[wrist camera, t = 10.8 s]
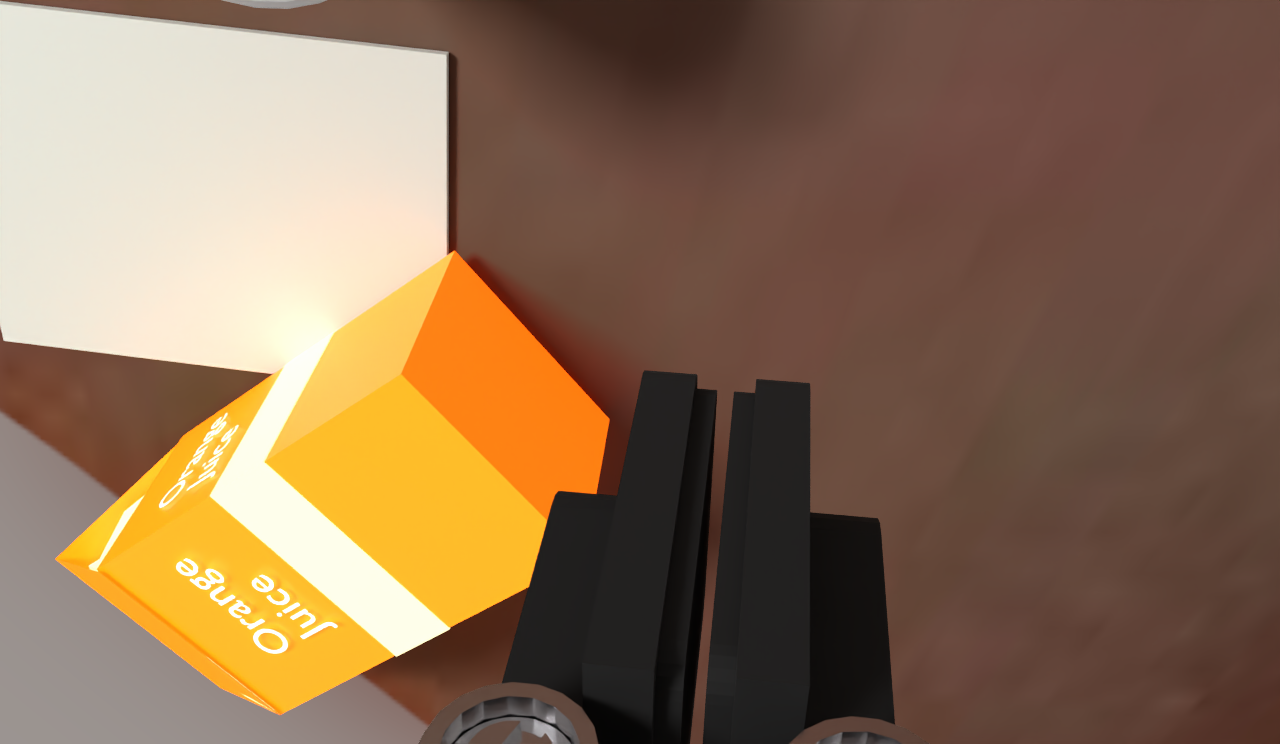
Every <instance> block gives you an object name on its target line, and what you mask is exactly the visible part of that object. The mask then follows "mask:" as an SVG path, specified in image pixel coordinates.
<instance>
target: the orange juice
mask: <svg viewBox="0 0 1280 744" xmlns="http://www.w3.org/2000/svg"><path fill="white" fill-rule="evenodd" d="M609 420H610V419H609V418H608V417H607V416H606V415H605V414H604V413H603V412H602V411H601V409H600V408H599V407H598V406H597V405H596V404H595V403H594V402H593V401H592V400H591V399H590V397H589V396H588V395H587V394H586V393H585V392H584V391H583V390H582V389H581V388H580V387H579V385H578V384H577V383H576V382H575V381H574V380H573V379H572V378H571V377H570V376H569V375H568V373H567V372H566V371H565V370H564V369H563V368H562V367H561V366H560V365H559V364H558V363H557V361H556V360H555V359H554V358H553V357H552V356H551V355H550V354H549V353H548V352H547V351H546V350H545V348H544V347H543V346H542V345H541V344H540V343H539V342H538V341H537V340H536V339H535V338H534V336H533V335H532V334H531V333H530V332H529V331H528V330H527V329H526V328H525V327H524V326H523V324H522V323H521V322H520V321H519V320H518V319H517V318H516V317H515V316H514V315H513V314H512V312H511V311H510V310H509V309H508V308H507V307H506V306H505V305H504V304H503V303H502V302H501V300H500V299H499V298H498V297H497V296H496V295H495V294H494V293H493V292H492V291H491V290H490V288H489V287H488V286H487V285H486V284H485V283H484V282H483V281H482V280H481V279H480V278H479V277H478V275H477V274H476V273H475V272H474V271H473V270H472V269H471V268H470V267H469V266H468V265H467V263H466V262H465V261H464V260H463V259H462V258H461V257H460V256H459V255H458V254H457V253H456V251H453V252H452V253H450V254H449V255H447V256H446V257H444V258H443V259H441V260H440V261H439V262H437V263H436V264H434V265H433V266H431V267H430V268H428V269H427V270H425V271H424V272H422V273H421V274H420V275H418V276H417V277H415V278H414V279H412V280H411V281H409V282H408V283H406V284H405V285H403V286H402V287H400V288H399V289H398V290H396V291H395V292H393V293H392V294H390V295H389V296H387V297H386V298H384V299H383V300H381V301H380V302H378V303H377V304H376V305H374V306H373V307H371V308H370V309H368V310H367V311H365V312H364V313H362V314H361V315H359V316H358V317H356V318H355V319H354V320H352V321H351V322H349V323H348V324H346V325H345V326H343V327H342V328H340V329H339V330H337V331H336V332H332V333H331V334H329V335H328V336H326V337H325V338H323V339H322V340H320V341H319V342H317V343H316V344H314V345H313V346H311V347H310V348H309V349H307V350H306V351H304V352H303V353H301V354H300V355H298V356H297V357H295V358H294V359H292V360H291V361H290V362H288V363H287V364H285V366H284V367H283V368H282V369H280V370H279V371H277V372H276V373H274V374H273V375H271V376H270V377H269V378H267V379H266V380H264V381H263V382H261V383H260V384H258V385H257V386H255V387H254V388H252V389H251V390H249V391H248V392H247V393H245V394H244V395H242V396H241V397H239V398H238V399H236V400H235V401H233V402H232V403H230V404H229V405H227V406H226V407H225V408H223V409H222V410H220V411H219V412H217V413H216V414H214V415H213V416H211V417H210V418H208V419H207V420H205V421H204V422H203V423H201V424H200V425H198V426H197V427H195V428H194V429H192V430H191V431H189V432H188V433H186V434H185V435H184V436H182V438H181V439H180V441H179V442H178V444H177V445H176V446H175V447H174V448H173V449H172V450H171V451H170V452H169V453H167V454H166V455H165V456H164V457H163V458H162V459H161V460H160V461H159V462H158V463H157V464H156V465H155V466H154V467H153V468H152V469H150V470H149V471H148V472H147V473H146V474H145V475H144V476H143V477H142V478H141V479H140V480H139V481H138V482H137V483H136V484H135V485H133V486H132V487H131V488H130V489H129V490H128V491H127V492H126V493H125V494H124V495H123V496H122V497H121V498H120V499H119V500H118V501H116V502H115V504H113V505H112V506H111V507H110V508H109V509H108V510H107V511H106V512H105V513H104V514H103V515H102V516H101V517H99V518H98V519H97V520H96V521H95V522H94V523H93V524H92V525H91V526H90V527H89V528H88V529H87V530H86V531H85V532H84V533H83V534H81V536H79V537H78V538H77V539H76V540H75V541H74V542H73V543H72V544H71V545H70V546H69V547H68V548H67V549H65V550H64V551H63V552H62V553H61V554H60V555H59V556H58V557H57V558H56V560H57V561H58V562H59V563H61V564H62V565H63V566H65V567H66V568H67V569H69V570H70V571H71V572H72V573H74V574H75V575H76V576H77V577H79V578H80V579H81V580H83V581H84V582H85V583H86V584H88V585H89V586H90V587H92V588H93V589H94V590H95V591H97V592H98V593H99V594H101V595H102V596H103V597H104V598H106V599H107V600H108V601H110V602H111V603H112V604H113V605H115V606H116V607H117V608H118V609H120V610H121V611H122V612H124V613H125V614H127V615H128V616H129V617H130V618H131V619H133V620H134V621H135V622H136V623H138V624H139V625H141V626H142V627H143V628H144V629H146V630H147V631H148V632H149V633H151V634H152V635H153V636H154V637H156V638H157V639H158V640H160V641H161V642H162V643H164V644H165V645H166V646H167V647H169V648H170V649H171V650H172V651H174V652H175V653H176V654H178V655H179V656H180V657H182V658H183V659H184V660H185V661H187V662H188V663H189V664H190V665H192V666H193V667H194V668H196V669H197V670H198V671H199V672H201V673H202V674H203V675H205V676H206V677H207V678H208V679H210V680H211V681H212V682H214V683H215V684H216V685H217V686H219V687H220V688H221V689H224V690H226V691H229V692H231V693H233V694H235V695H237V696H239V697H242V698H244V699H246V700H248V701H250V702H253V703H255V704H257V705H259V706H261V707H263V708H266V709H268V710H270V711H272V712H275V713H276V714H280V715H281V714H283V713H284V712H286V711H288V710H290V709H292V708H294V707H296V706H298V705H300V704H302V703H304V702H306V701H308V700H310V699H312V698H314V697H316V696H317V695H319V694H321V693H323V692H325V691H327V690H329V689H331V688H333V687H335V686H337V685H339V684H340V683H343V682H345V681H347V680H349V679H350V678H352V677H354V676H356V675H358V674H360V673H362V672H364V671H366V670H368V669H370V668H372V667H374V666H376V665H378V664H380V663H382V662H384V661H385V660H387V659H389V658H391V657H393V656H396V657H397V656H399V655H401V654H403V653H405V652H406V651H408V650H410V649H412V648H414V647H416V646H418V645H420V644H422V643H424V642H426V641H428V640H430V639H432V638H434V637H436V636H438V635H440V634H442V633H443V632H445V631H447V630H449V629H450V627H452V626H453V625H455V624H457V623H459V622H461V621H463V620H465V619H467V618H469V617H471V616H473V615H475V614H477V613H479V612H481V611H483V610H485V609H487V608H488V607H490V606H492V605H494V604H496V603H498V602H500V601H502V600H504V599H506V598H508V597H510V596H512V595H514V594H516V593H518V592H520V591H522V590H523V589H525V588H527V587H529V584H530V580H531V577H532V573H533V570H534V566H535V562H536V559H537V555H538V552H539V548H540V544H541V541H542V537H543V534H544V530H545V526H546V523H547V519H548V516H549V512H550V508H551V505H552V502H553V499H554V496H555V494H556V493H557V492H558V491H568V492H580V493H591V494H596V492H597V487H598V481H599V476H600V470H601V465H602V459H603V453H604V448H605V442H606V437H607V431H608V425H609ZM277 712H278V713H277Z"/></svg>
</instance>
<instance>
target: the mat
mask: <svg viewBox="0 0 1280 744" xmlns="http://www.w3.org/2000/svg"><path fill="white" fill-rule="evenodd" d="M447 255H449V52H445V51H436V50H427V49H418V48H410V47H401V46H392V45H383V44H374V43H366V42H357V41H348V40H339V39H330V38H322V37H313V36H304V35H295V34H286V33H277V32H269V31H260V30H251V29H242V28H233V27H225V26H216V25H207V24H198V23H189V22H181V21H172V20H163V19H154V18H145V17H137V16H128V15H119V14H110V13H101V12H93V11H84V10H75V9H66V8H57V7H49V6H40V5H31V4H22V3H13V2H5V1H0V326H1V331H2V335H3V339H4V341H10V342H19V343H27V344H35V345H43V346H51V347H59V348H67V349H75V350H83V351H91V352H99V353H108V354H116V355H124V356H132V357H140V358H148V359H156V360H164V361H172V362H180V363H189V364H197V365H205V366H213V367H221V368H229V369H237V370H245V371H253V372H261V373H269V374H274V373H276V372H277V371H279V370H280V369H282V368H283V367H284V366H285V364H287V363H288V362H290V361H291V360H292V359H294V358H295V357H297V356H298V355H300V354H301V353H303V352H304V351H306V350H307V349H309V348H310V347H311V346H313V345H314V344H316V343H317V342H319V341H320V340H322V339H323V338H325V337H326V336H328V335H329V334H331V333H332V332H336V331H337V330H339V329H340V328H342V327H343V326H345V325H346V324H348V323H349V322H351V321H352V320H354V319H355V318H356V317H358V316H359V315H361V314H362V313H364V312H365V311H367V310H368V309H370V308H371V307H373V306H374V305H376V304H377V303H378V302H380V301H381V300H383V299H384V298H386V297H387V296H389V295H390V294H392V293H393V292H395V291H396V290H398V289H399V288H400V287H402V286H403V285H405V284H406V283H408V282H409V281H411V280H412V279H414V278H415V277H417V276H418V275H420V274H421V273H422V272H424V271H425V270H427V269H428V268H430V267H431V266H433V265H434V264H436V263H437V262H439V261H440V260H441V259H443V258H444V257H446V256H447Z"/></svg>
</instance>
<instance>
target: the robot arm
mask: <svg viewBox="0 0 1280 744" xmlns="http://www.w3.org/2000/svg"><path fill="white" fill-rule="evenodd" d="M716 404H717V390H707V389H697V374H684V373H671V372H658V371H644V372H643V376H642V380H641V385H640V390H639V395H638V399H637V404H636V409H635V414H634V418H633V423H632V428H631V433H630V437H629V442H628V447H627V452H626V456H625V461H624V466H623V471H622V476H621V480H620V485H619V490H618V495H617V496H614V495H603V494H591V493H580V492H568V491H558V492H557V493H556V494H555V496H554V499H553V502H552V505H551V508H550V512H549V516H548V519H547V523H546V526H545V530H544V534H543V537H542V541H541V544H540V548H539V552H538V555H537V559H536V562H535V566H534V570H533V573H532V577H531V580H530V584H529V588H528V591H527V595H526V598H525V602H524V605H523V609H522V613H521V616H520V620H519V623H518V627H517V631H516V634H515V638H514V641H513V645H512V649H511V652H510V656H509V659H508V663H507V667H506V670H505V674H504V677H503V681H502V684H496V685H489V686H484V687H482V688H479V689H477V690H474V691H472V692H469V693H467V694H464V695H462V696H460V697H459V698H457V699H456V700H455V701H453V702H452V703H451V704H449V705H448V706H447V707H445V708H444V709H442V710H441V711H440V712H439V713H438V715H437V716H436V717H435V719H434V720H433V721H432V723H431V724H430V725H429V727H428V728H427V729H426V731H425V732H424V734H423V736H422V738H421V740H420V742H419V743H418V744H690V737H691V727H692V717H693V708H694V698H695V688H696V679H697V669H698V660H699V650H700V640H701V631H702V621H703V610H704V598H705V584H706V567H707V551H708V535H709V518H710V502H711V486H712V469H713V453H714V437H715V420H716ZM703 744H929V743H927V742H926V741H924V740H923V739H921V738H920V737H918V736H917V735H915V734H914V733H912V732H910V731H909V730H907V729H905V728H903V727H900V726H897V725H895V719H894V705H893V691H892V678H891V664H890V650H889V636H888V622H887V608H886V594H885V580H884V566H883V552H882V538H881V528H880V522H879V520H878V518H867V517H856V516H844V515H833V514H821V513H810V383H800V382H787V381H774V380H761V379H756V389H755V393H745V392H734V398H733V409H732V419H731V430H730V440H729V451H728V462H727V472H726V483H725V493H724V504H723V515H722V525H721V536H720V546H719V557H718V567H717V578H716V589H715V599H714V610H713V620H712V631H711V642H710V653H709V664H708V676H707V689H706V703H705V718H704V734H703Z"/></svg>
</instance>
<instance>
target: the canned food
mask: <svg viewBox="0 0 1280 744" xmlns="http://www.w3.org/2000/svg"><path fill="white" fill-rule="evenodd" d="M223 1H228V2H232V3H237V4H241V5H246V6H250V7H255V8H282V9H289V8H295V7H301V6H306V5H312V4H318V3H321V2H324V1H326V0H223Z"/></svg>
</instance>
